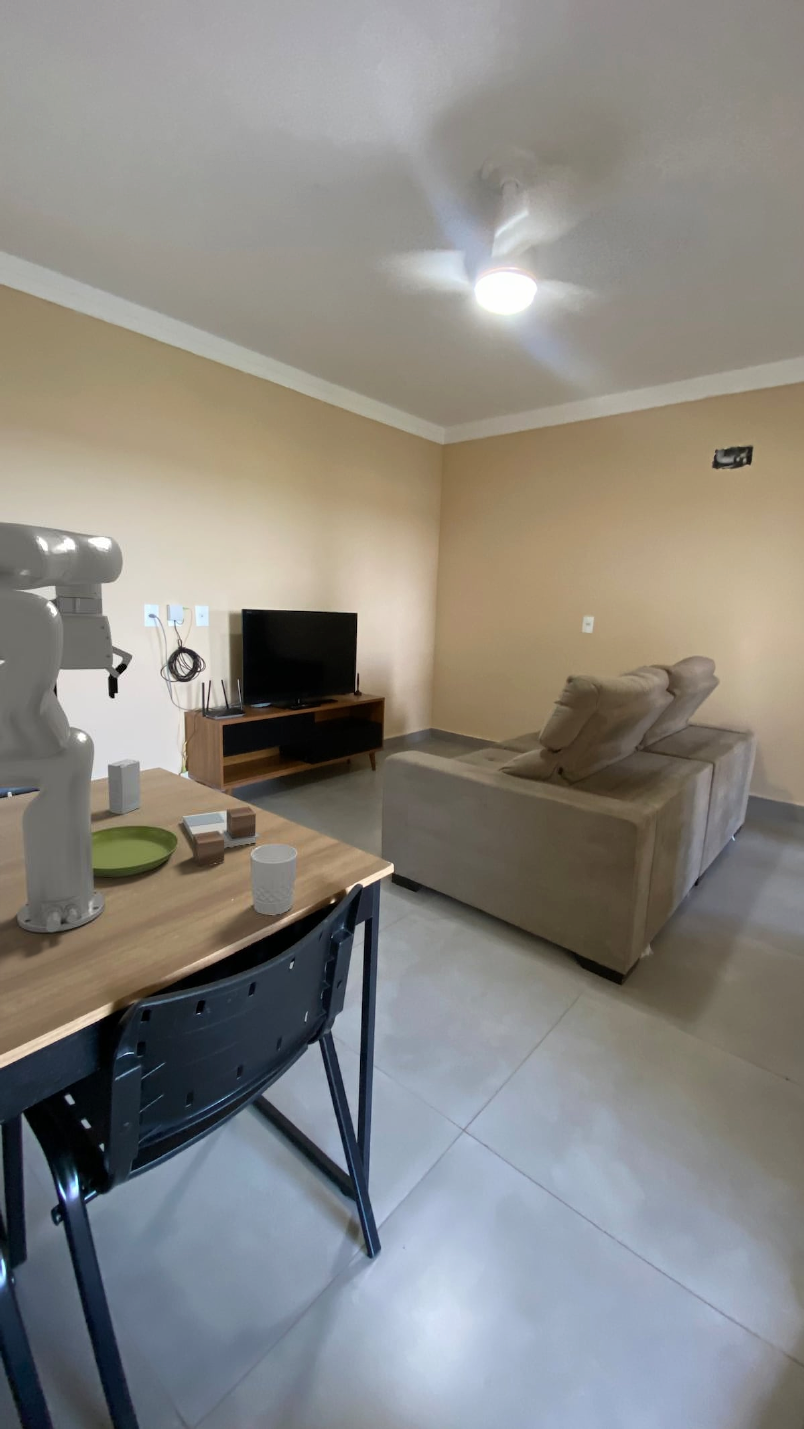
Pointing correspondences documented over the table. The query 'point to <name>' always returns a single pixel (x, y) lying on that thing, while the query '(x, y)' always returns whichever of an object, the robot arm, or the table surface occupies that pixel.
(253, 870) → the white cup
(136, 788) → the skincare box
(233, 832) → the block
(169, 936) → the table surface
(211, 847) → the block
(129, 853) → the green plate
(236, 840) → the build board
